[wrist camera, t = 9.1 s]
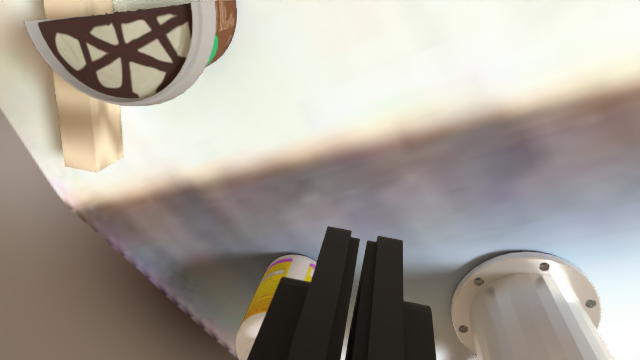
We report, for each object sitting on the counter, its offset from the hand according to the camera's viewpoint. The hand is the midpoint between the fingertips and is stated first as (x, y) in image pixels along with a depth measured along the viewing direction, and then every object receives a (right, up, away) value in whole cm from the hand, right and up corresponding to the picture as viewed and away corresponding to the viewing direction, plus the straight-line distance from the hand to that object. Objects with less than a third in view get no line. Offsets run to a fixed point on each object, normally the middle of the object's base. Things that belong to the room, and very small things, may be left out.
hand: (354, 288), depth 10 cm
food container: (-12, +14, +26) cm, 32 cm away
